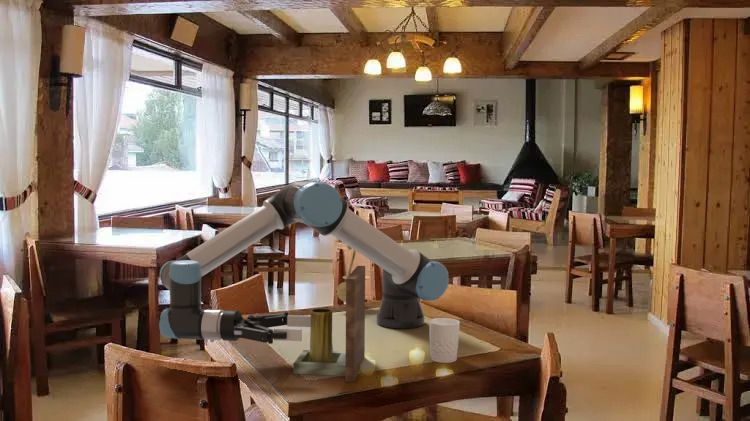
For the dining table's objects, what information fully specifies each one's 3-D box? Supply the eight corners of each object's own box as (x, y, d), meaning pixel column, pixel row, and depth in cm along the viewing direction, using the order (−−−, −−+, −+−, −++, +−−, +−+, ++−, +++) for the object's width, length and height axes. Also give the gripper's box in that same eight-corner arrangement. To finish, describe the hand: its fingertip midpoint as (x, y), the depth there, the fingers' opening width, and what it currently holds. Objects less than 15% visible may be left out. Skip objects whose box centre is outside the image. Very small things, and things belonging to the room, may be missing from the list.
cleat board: (289, 379, 151) (289, 277, 149) (307, 354, 170) (307, 264, 169) (354, 382, 149) (354, 278, 147) (364, 357, 169) (365, 266, 167)
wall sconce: (358, 313, 220) (358, 240, 218) (332, 310, 223) (333, 238, 222) (373, 305, 233) (373, 236, 231) (348, 303, 236) (349, 235, 235)
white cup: (426, 355, 171) (426, 317, 171) (455, 354, 172) (456, 317, 171) (431, 364, 163) (431, 325, 163) (462, 363, 164) (462, 324, 163)
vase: (337, 365, 162) (337, 308, 161) (327, 372, 156) (327, 313, 155) (315, 362, 164) (315, 306, 163) (304, 369, 158) (304, 311, 157)
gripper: (238, 327, 174) (316, 330, 172) (205, 354, 149) (295, 357, 147) (238, 300, 173) (316, 302, 171) (205, 321, 149) (295, 325, 147)
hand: (307, 328), depth 159 cm, fingers open, 13 cm apart
